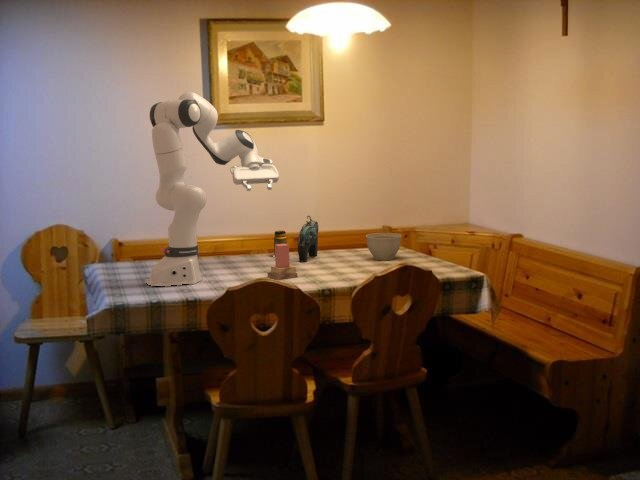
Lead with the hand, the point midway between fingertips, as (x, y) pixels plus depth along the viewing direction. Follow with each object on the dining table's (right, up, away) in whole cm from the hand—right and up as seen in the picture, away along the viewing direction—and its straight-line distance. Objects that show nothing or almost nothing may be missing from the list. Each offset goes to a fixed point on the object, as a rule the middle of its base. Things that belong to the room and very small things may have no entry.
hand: (259, 189), depth 328 cm
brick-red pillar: (+11, -32, -17) cm, 38 cm away
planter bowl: (+55, -31, +22) cm, 67 cm away
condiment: (+6, -30, +35) cm, 46 cm away
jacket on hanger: (+21, -31, +26) cm, 45 cm away
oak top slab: (+11, -35, -16) cm, 40 cm away
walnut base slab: (+11, -37, -16) cm, 42 cm away
